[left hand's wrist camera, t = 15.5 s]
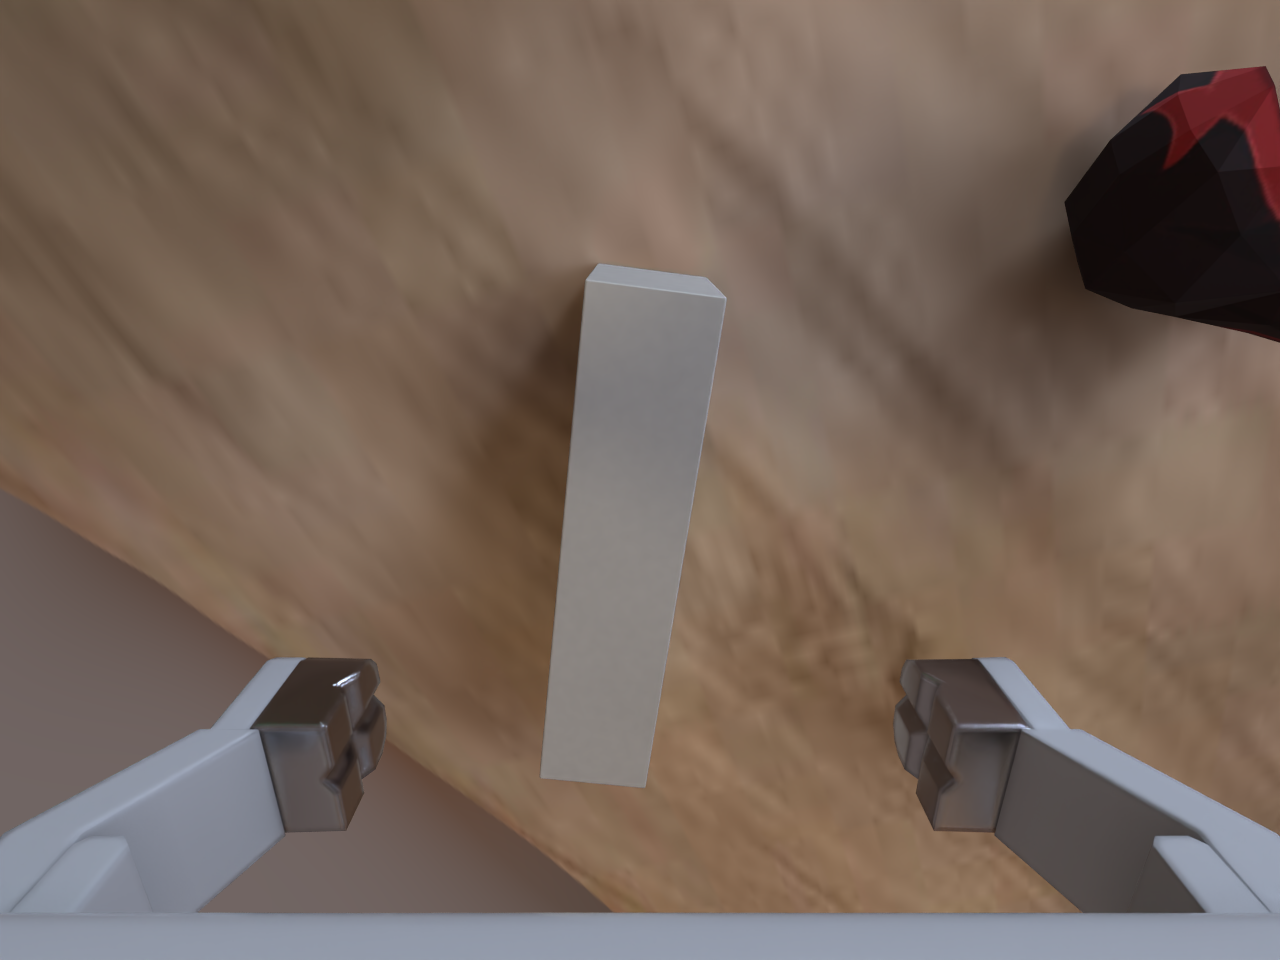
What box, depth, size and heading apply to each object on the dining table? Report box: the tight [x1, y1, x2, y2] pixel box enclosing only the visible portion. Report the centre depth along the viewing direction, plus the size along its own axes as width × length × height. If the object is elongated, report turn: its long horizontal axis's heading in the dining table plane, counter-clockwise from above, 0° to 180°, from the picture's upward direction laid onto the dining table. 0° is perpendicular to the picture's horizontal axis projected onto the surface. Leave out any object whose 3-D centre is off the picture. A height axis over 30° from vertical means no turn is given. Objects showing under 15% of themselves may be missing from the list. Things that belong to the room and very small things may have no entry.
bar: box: [540, 264, 727, 788], centre depth 33 cm, size 24×5×8 cm, turn 173°
